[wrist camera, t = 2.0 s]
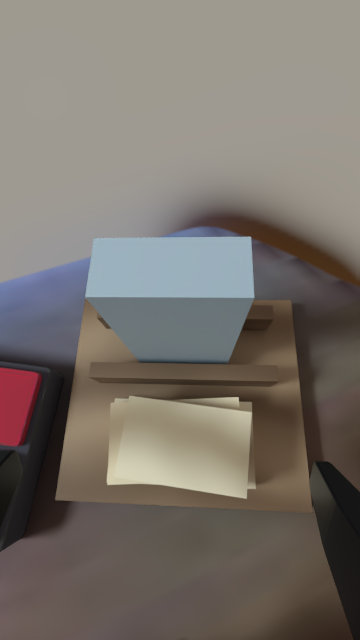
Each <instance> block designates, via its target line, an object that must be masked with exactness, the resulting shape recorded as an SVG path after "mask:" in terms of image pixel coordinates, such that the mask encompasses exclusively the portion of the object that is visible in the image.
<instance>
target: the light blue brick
mask: <svg viewBox="0 0 360 640" xmlns="http://www.w3.org/2000/svg"><path fill="white" fill-rule="evenodd" d="M85 297H86V299H87V300H88V301H89V302H90V303H91V305H92V306H93V307H94V308H95V309H96V311H97V312H98V313H99V314H100V315H101V317H102V318H103V319H104V320H105V321H106V323H107V324H108V325H109V326H110V327H111V329H112V330H113V331H114V332H115V333H116V335H117V336H118V337H119V338H120V339H121V340H122V342H123V343H124V344H125V345H126V346H127V348H128V349H129V350H130V351H131V352H132V354H133V355H134V356H135V357H136V358H137V360H138V361H139V362H140V363H176V364H228V362H229V359H230V357H231V354H232V352H233V349H234V347H235V344H236V342H237V339H238V337H239V334H240V332H241V329H242V327H243V325H244V322H245V320H246V317H247V315H248V312H249V310H250V307H251V305H252V302H253V300H254V283H253V266H252V248H251V237H174V238H94V242H93V248H92V255H91V262H90V268H89V275H88V282H87V288H86V295H85Z"/></svg>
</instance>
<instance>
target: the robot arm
mask: <svg viewBox="0 0 360 640" xmlns="http://www.w3.org/2000/svg"><path fill="white" fill-rule="evenodd" d="M21 475H22V466H21V463H20V460H19V457H18V454H17V452H16V451H15V450H12V449H3V450H0V528H1V526H2V523H3V521H4V519H5V516H6V513H7V511H8V508H9V506H10V503H11V501H12V498H13V496H14V493H15V491H16V488H17V486H18V483H19V480H20V478H21ZM309 486H310V491H311V496H312V500H313V505H314V509H315V513H316V518H317V522H318V527H319V531H320V536H321V540H322V544H323V548H324V551H325V554H326V557H327V560H328V563H329V566H330V569H331V572H332V576H333V579H334V582H335V585H336V588H337V591H338V594H339V597H340V600H341V603H342V606H343V609H344V612H345V615H346V618H347V621H348V624H349V627H350V630H351V633H352V636H353V639H354V640H360V492H359V491H358V490H357V489H356V488H355V487H354V486H353V485H352V484H351V483H350V482H349V481H348V480H347V479H346V478H345V477H344V476H343V475H342V474H341V473H340V472H339V471H338V470H337V469H336V468H335V467H334V466H333V465H332V464H331V463H329V462H326V461H315V462H314V463H313V467H312V471H311V476H310V480H309Z"/></svg>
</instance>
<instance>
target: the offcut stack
mask: <svg viewBox="0 0 360 640" xmlns="http://www.w3.org/2000/svg"><path fill="white" fill-rule="evenodd" d="M107 482H108V483H107V485H120V484H155V485H165V486H171V487H177V488H184V489H190V490H196V491H202V492H208V493H214V494H220V495H226V496H232V497H238V498H244V499H247V489H256V483H255V461H254V440H253V419H252V402H239V397H227V398H205V399H183V400H157V399H150V398H143V397H135V396H129V399H119V398H115V403H111V406H110V432H109V458H108V472H107Z"/></svg>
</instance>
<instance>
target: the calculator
mask: <svg viewBox="0 0 360 640" xmlns="http://www.w3.org/2000/svg"><path fill="white" fill-rule="evenodd" d="M63 382H64V376H63V375H62V374H61V373H58V372H56V371H54V370H52V369H50V368H47V367H42V366H34V365H27V364H19V363H11V362H4V361H0V450H3V449H12V450H15V451H16V452H17V454H18V457H19V460H20V463H21V466H22V475H21V478H20V480H19V483H18V486H17V488H16V491H15V493H14V496H13V498H12V501H11V503H10V506H9V508H8V511H7V513H6V516H5V519H4V521H3V523H2V526H1V528H0V552H1V551H2V550H4V549H5V548H7V547H8V546H10V545H11V544H13V543H15V542H16V541H17V540H19V539H20V538H22V536H23V535H24V532H25V529H26V525H27V521H28V517H29V513H30V510H31V506H32V502H33V498H34V494H35V490H36V486H37V482H38V479H39V475H40V471H41V467H42V463H43V459H44V455H45V452H46V448H47V444H48V440H49V436H50V432H51V428H52V424H53V421H54V417H55V413H56V409H57V405H58V401H59V397H60V393H61V390H62V386H63Z"/></svg>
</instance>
